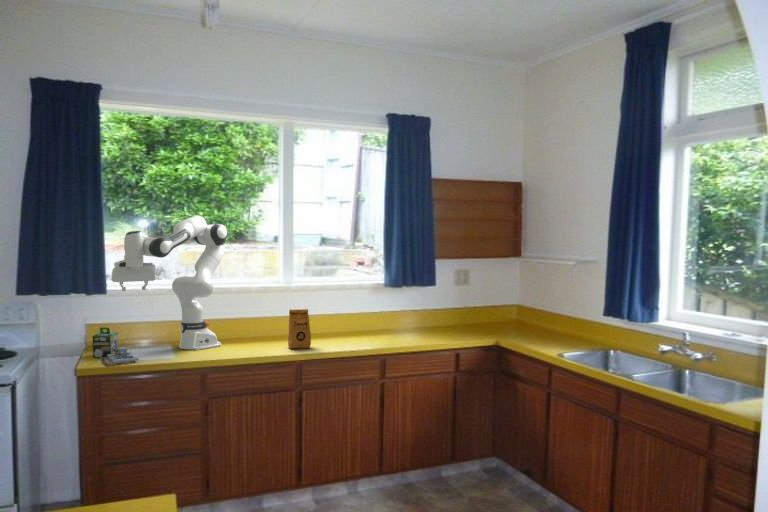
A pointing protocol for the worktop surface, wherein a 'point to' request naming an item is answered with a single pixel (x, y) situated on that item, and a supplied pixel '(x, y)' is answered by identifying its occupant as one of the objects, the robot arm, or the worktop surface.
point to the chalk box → (104, 342)
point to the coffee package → (299, 329)
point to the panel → (129, 357)
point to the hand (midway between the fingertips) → (133, 290)
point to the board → (109, 363)
